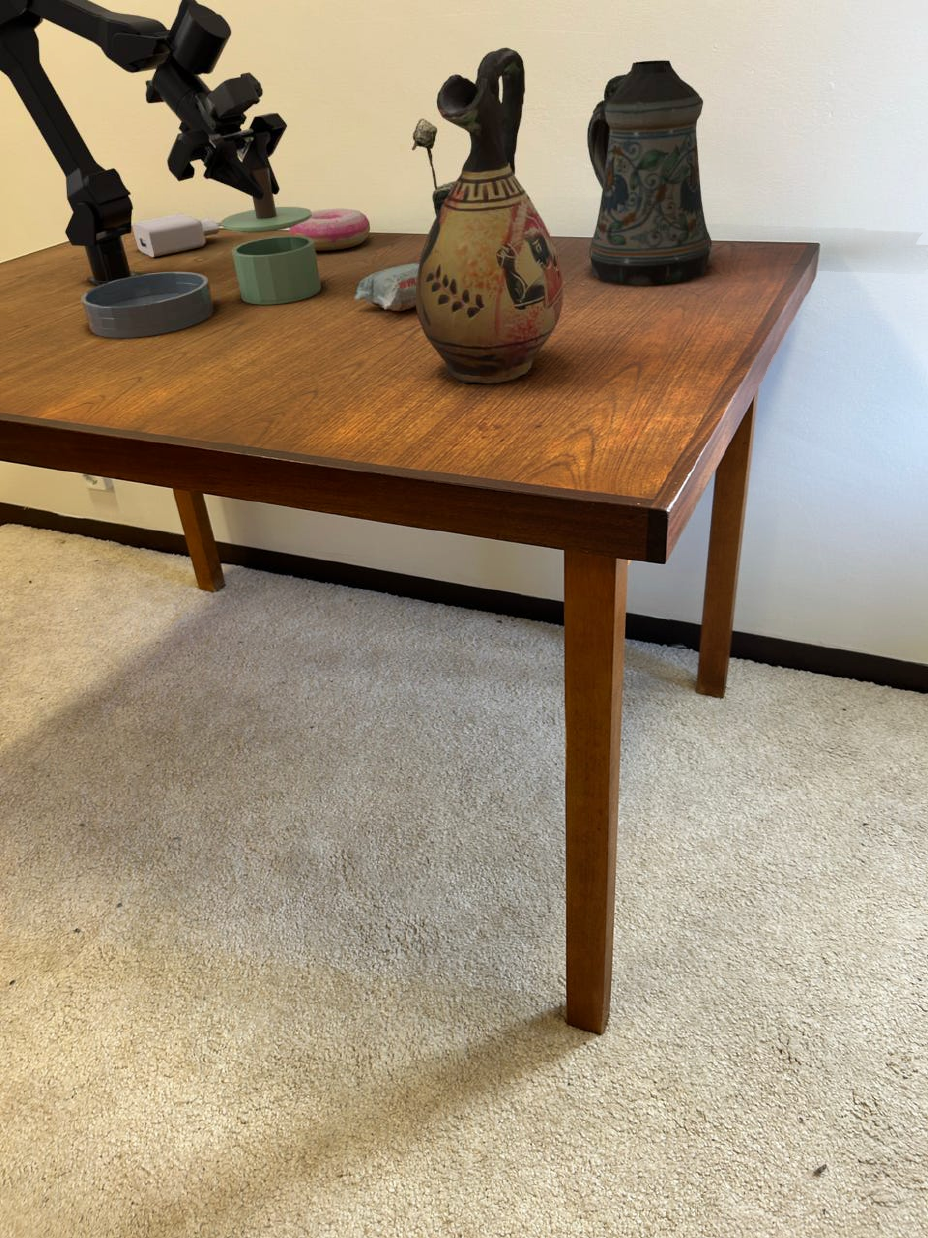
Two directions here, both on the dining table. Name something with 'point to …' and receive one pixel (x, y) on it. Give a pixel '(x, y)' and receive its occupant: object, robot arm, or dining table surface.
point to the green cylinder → (277, 270)
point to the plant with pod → (426, 139)
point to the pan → (148, 304)
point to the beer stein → (648, 179)
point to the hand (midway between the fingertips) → (269, 194)
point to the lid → (265, 211)
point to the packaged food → (390, 288)
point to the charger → (172, 234)
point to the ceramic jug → (488, 240)
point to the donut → (334, 228)
